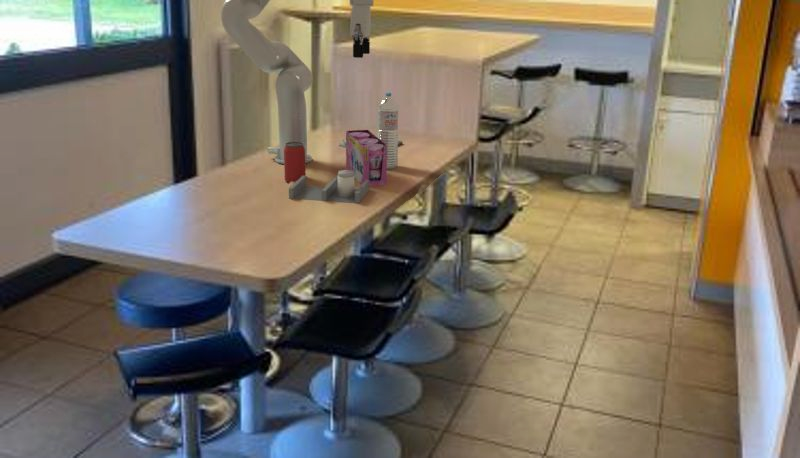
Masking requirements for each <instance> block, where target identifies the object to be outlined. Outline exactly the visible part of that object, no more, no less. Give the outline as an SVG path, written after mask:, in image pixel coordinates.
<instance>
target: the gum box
mask: <svg viewBox="0 0 800 458" xmlns="http://www.w3.org/2000/svg"><path fill="white" fill-rule="evenodd" d="M377 137H378V136H376V135H375V134H374V133H373V132H371V131H370V130H369V129H360V130H359V129H357V130H356V129H355V130H346V132H345V140H346V147H345V148H346V149H345V159H346V161H345V162H346V163H345V165H346V166H345V167H346V169H345V170H351V171H353V172H354V175H355V179H356V180H357V181H358V183H359V184H360V186H361V185H362V184H363V182H364V181H365V180H369V187H372V186H383V185H385V186H386V185H387V183H388V182H387V173H388V172H387V170H388V169H387V145H386V144H385V143H384V142H383V141H381V140H380V139H379V138H377Z"/></svg>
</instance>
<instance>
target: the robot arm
mask: <svg viewBox="0 0 800 458" xmlns="http://www.w3.org/2000/svg"><path fill="white" fill-rule="evenodd" d="M270 1H271V0H225V1H224V2H223V5H222V7H221V13H220V16H221V17H220V18H221V25H222V26H223V29H224V30H225V32H226V33H227V35H228V36H229V37H230V39H232V40H233V42H234V43H235V44H236V45H238V47H239V48H240V49H241V50H242V51H243V52H244V53H245V54H246V56H247V57H249V59H250V60H251V61H252V62H253V63H254V64H255V65H256V66H257V67H258V68H259V69H260V70H261V71H262V72H263V73H264V72H265V73H268V74H269V73H274V72H275V74H277V77H275V84H274V87H275V88H274V89H275V94H276V101H277V117H278V118H277V119H278V121H277V123H278V146H277V147H271V146H268V148H267V152H268V153H269V155H275V156H274V160H275V162H276V163H277V164H281V165H284V148H285V146H286V145H285V144H286V143H289V142H301V143H303V146H304V148H305V164H309V163H311V162H312V161H313V160H312V159H313V157H312V156H311V155H310V154H308V133H307V132H308V129H307V128H308V127H307V126H308V125H307V123H308V122H307V117H308V116H307V103H306V97H305V93H306V92H307V90H310V88H311V87H312V85H313V80H314V76H313V74H312V71H311V70H310V69H309V67H308V65H307V64H305V63H304V61H303V60H302V59H300V57H299V56H298V55H297V54H296V53H295V52H294V51H293V50H292V49H291V48H290V47H289V46H288V45H286V44H284V43H283V42H281V41H277V40H276V41H271V40H269V39H268V37H266V36H265V35H264V34H263V32H261V30H259V28H257V27H256V26H254V25H253V24H252V23H251V22H250V20H253V19H255V18H256V17H258V16H259V15H260V14H261V13H262V12H263V10H264V9H265V7H266V6H267V5H268V4H269V2H270ZM349 5H350V7H351V11H350V25H349V26H350V31H349V36H350V37H351V39H353V42H352V57H353V58H358V59H360V58H363V57H364V55H370V53H371V52H370V50H371V48H370V46H371V45H370V44H371V40H370V35H371V32H372V31H371V30H372V29H371V28H372V20H371V19H372V18H371V17H372V15H371V14H372V13H371V12H372V11H371V7H374V0H349Z"/></svg>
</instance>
